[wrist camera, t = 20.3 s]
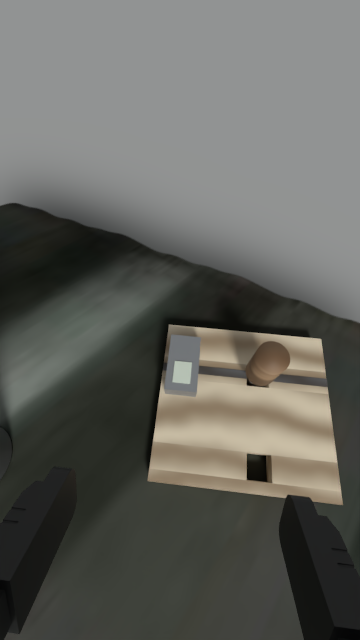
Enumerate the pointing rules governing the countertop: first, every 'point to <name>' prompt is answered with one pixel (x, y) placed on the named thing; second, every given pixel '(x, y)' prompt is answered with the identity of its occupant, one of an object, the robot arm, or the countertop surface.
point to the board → (248, 421)
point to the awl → (267, 363)
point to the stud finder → (183, 366)
